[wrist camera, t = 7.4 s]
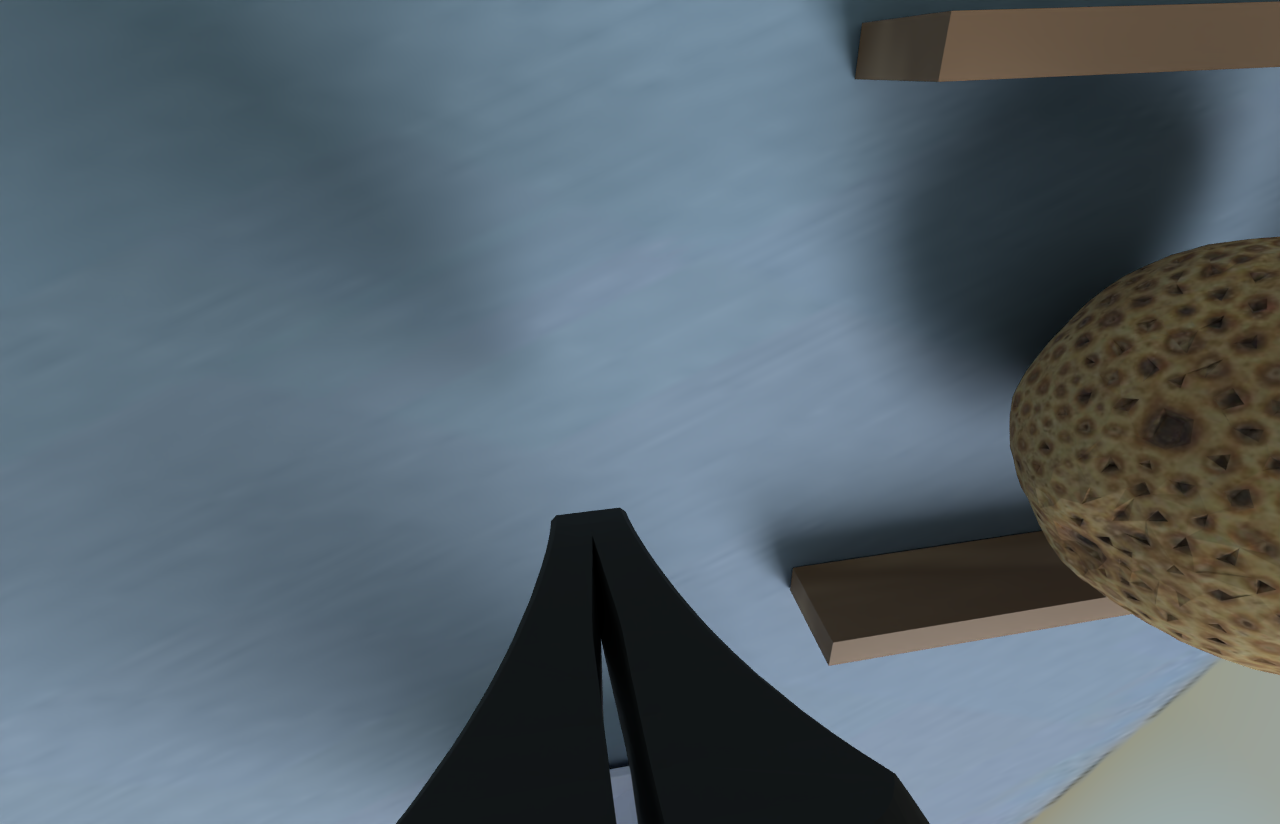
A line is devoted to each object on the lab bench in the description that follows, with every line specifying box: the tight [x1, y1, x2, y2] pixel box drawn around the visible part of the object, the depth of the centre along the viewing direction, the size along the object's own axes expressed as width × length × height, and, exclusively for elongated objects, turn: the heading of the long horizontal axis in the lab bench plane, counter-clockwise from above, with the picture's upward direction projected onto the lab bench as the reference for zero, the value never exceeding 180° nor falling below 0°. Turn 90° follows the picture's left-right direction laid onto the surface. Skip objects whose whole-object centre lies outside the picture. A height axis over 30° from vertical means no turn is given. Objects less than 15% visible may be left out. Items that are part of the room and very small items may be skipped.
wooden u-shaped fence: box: [790, 2, 1280, 666], centre depth 15 cm, size 16×16×5 cm
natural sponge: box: [1010, 237, 1280, 675], centre depth 13 cm, size 9×9×10 cm
